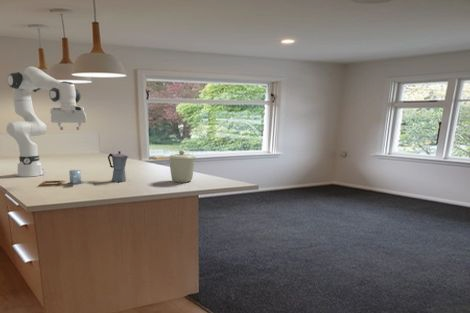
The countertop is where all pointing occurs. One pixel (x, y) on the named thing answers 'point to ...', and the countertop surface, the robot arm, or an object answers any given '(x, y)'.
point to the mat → (76, 184)
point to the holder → (51, 183)
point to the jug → (75, 176)
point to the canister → (181, 167)
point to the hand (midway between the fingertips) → (69, 129)
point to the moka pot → (118, 166)
